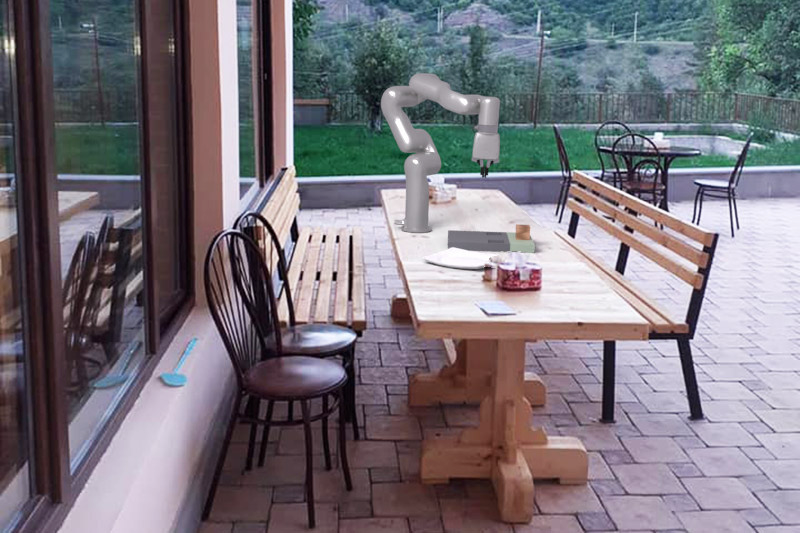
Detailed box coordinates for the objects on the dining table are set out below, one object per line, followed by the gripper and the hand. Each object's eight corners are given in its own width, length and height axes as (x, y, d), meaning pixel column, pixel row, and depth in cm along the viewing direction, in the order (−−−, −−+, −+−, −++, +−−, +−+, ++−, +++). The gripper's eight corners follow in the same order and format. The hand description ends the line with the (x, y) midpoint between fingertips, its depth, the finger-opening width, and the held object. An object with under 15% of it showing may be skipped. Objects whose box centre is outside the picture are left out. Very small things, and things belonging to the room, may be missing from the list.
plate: (416, 264, 312) (416, 257, 312) (451, 253, 333) (451, 246, 332) (480, 274, 300) (480, 267, 299) (511, 262, 320) (512, 255, 319)
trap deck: (447, 249, 337) (448, 241, 336) (447, 237, 360) (448, 230, 359) (534, 252, 335) (534, 244, 335) (528, 240, 359) (529, 233, 358)
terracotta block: (516, 239, 344) (516, 226, 343) (515, 237, 349) (516, 224, 348) (529, 240, 343) (530, 227, 342) (528, 237, 348) (529, 224, 347)
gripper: (468, 129, 343) (464, 177, 348) (507, 131, 342) (503, 180, 347) (468, 127, 351) (464, 174, 355) (507, 130, 350) (503, 177, 354)
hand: (483, 177), depth 351 cm, fingers closed
